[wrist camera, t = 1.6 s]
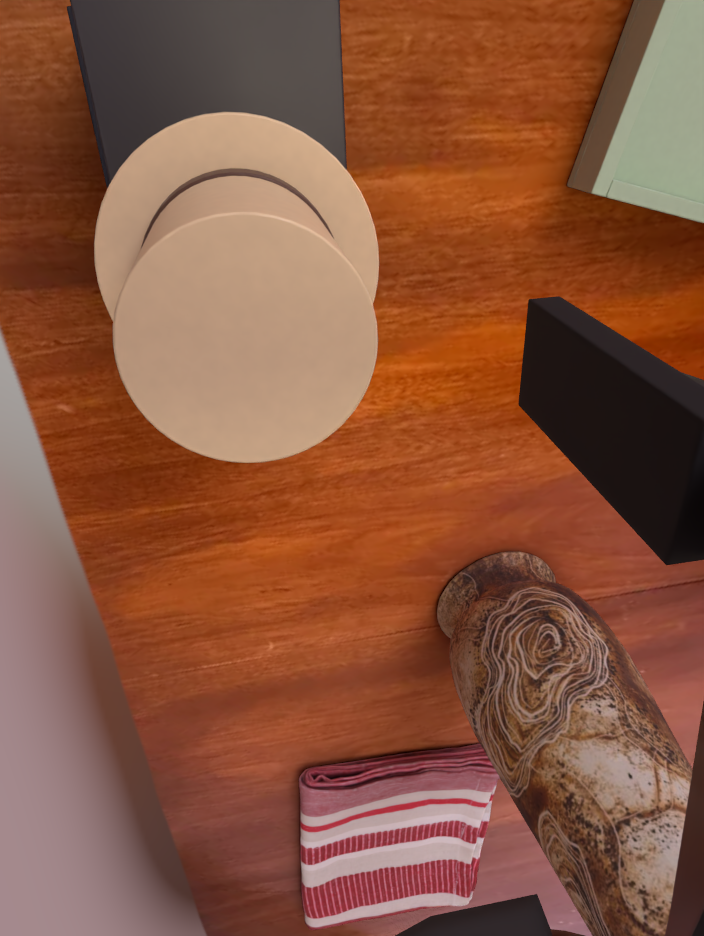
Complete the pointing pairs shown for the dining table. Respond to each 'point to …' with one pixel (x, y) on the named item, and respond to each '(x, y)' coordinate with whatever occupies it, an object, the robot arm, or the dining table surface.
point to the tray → (651, 114)
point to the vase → (571, 738)
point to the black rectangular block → (208, 67)
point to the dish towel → (393, 833)
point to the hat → (239, 286)
